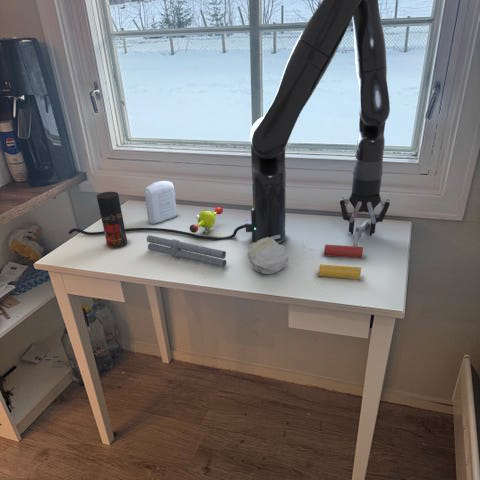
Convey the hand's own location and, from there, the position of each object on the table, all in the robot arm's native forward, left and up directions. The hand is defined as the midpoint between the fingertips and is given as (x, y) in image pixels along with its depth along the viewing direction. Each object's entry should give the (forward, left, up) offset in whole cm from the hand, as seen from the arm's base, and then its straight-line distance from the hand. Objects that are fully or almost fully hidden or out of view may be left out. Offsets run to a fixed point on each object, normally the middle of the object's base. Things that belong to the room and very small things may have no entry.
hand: (361, 233), depth 136 cm
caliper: (0, 0, -1) cm, 1 cm away
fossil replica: (-22, -25, -1) cm, 33 cm away
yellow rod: (-4, -26, -1) cm, 26 cm away
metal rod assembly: (-46, -23, -1) cm, 52 cm away
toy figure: (-46, -4, -1) cm, 46 cm away
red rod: (-4, -14, -1) cm, 15 cm away
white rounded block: (-64, +4, -1) cm, 64 cm away
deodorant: (-70, -17, -1) cm, 72 cm away
